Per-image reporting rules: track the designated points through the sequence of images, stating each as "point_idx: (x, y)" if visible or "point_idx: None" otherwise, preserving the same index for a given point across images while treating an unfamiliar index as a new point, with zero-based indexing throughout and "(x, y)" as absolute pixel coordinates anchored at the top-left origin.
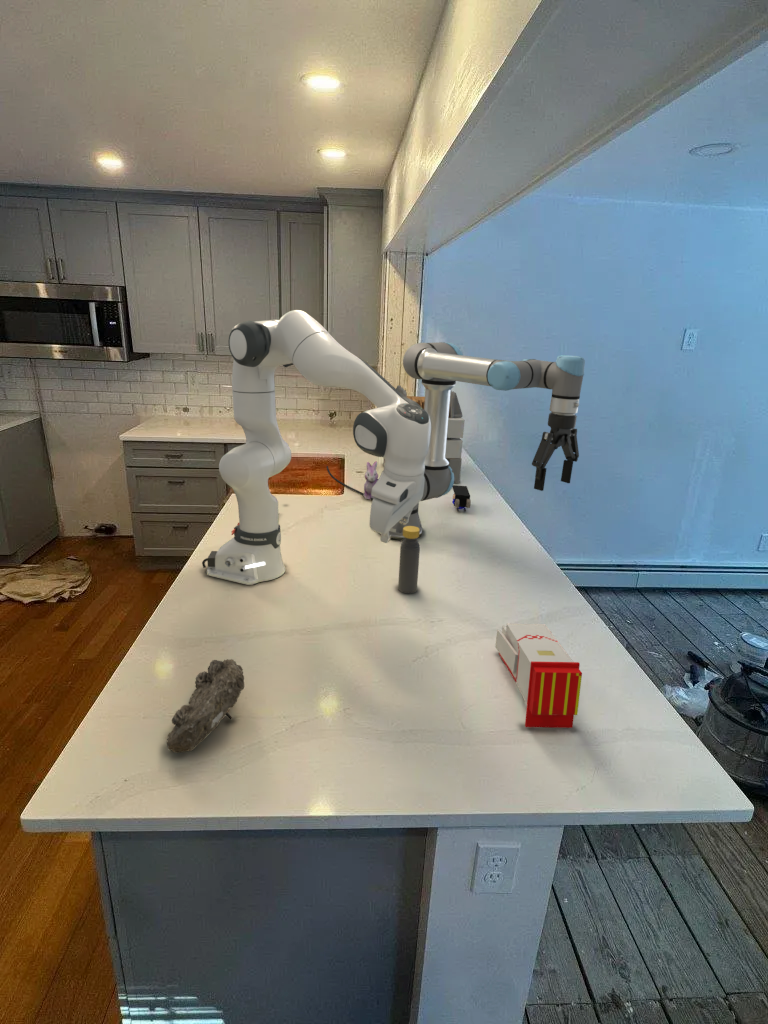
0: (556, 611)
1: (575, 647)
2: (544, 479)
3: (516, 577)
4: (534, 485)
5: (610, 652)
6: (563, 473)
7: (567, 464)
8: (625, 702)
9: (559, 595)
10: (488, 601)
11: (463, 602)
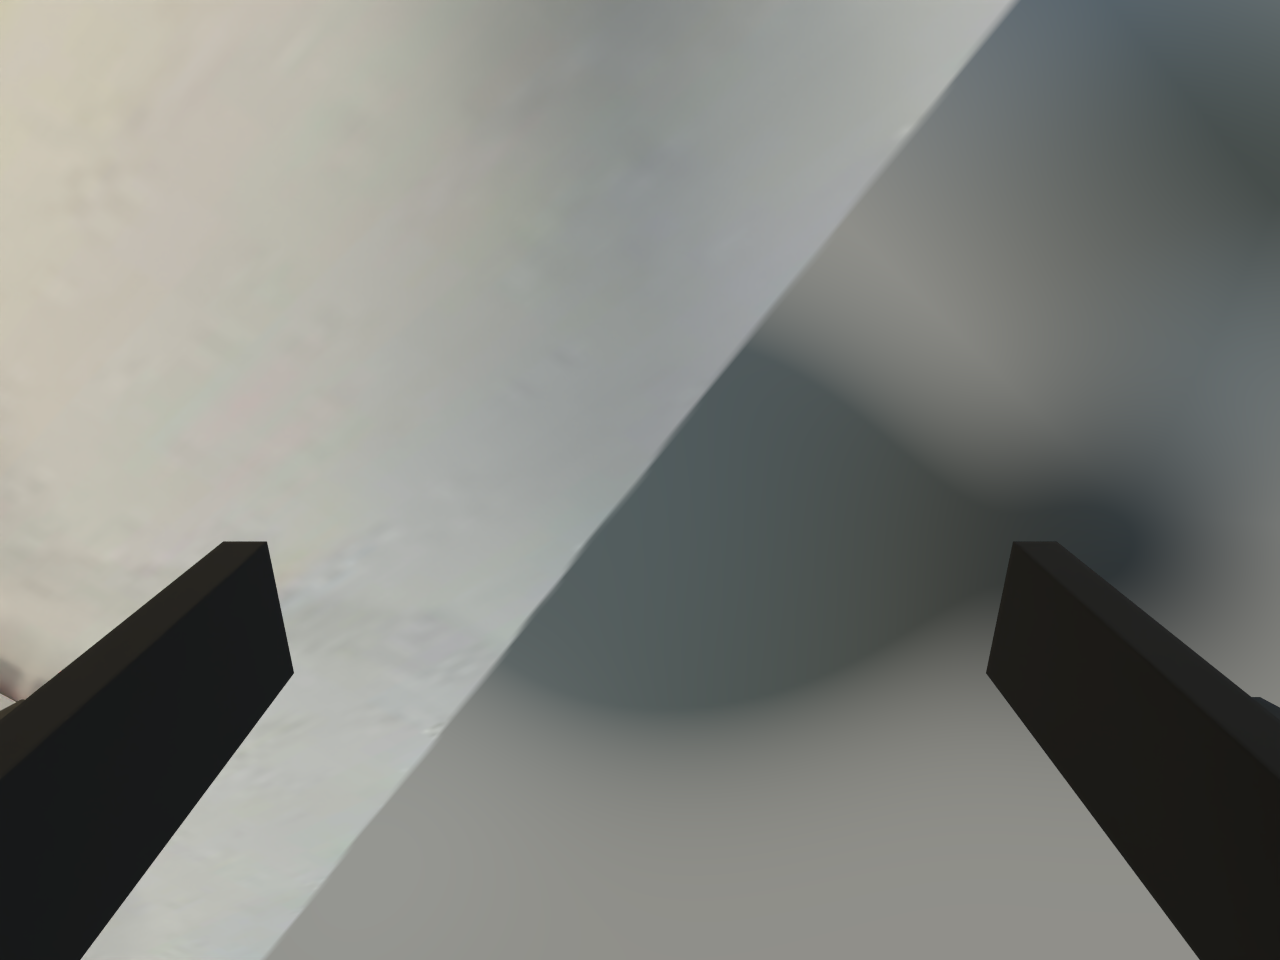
0: (375, 612)
1: (235, 772)
2: (172, 813)
3: (478, 300)
4: (191, 572)
5: (320, 841)
6: (1091, 655)
7: (1237, 884)
8: (154, 951)
9: (508, 544)
10: (149, 385)
11: (20, 317)
